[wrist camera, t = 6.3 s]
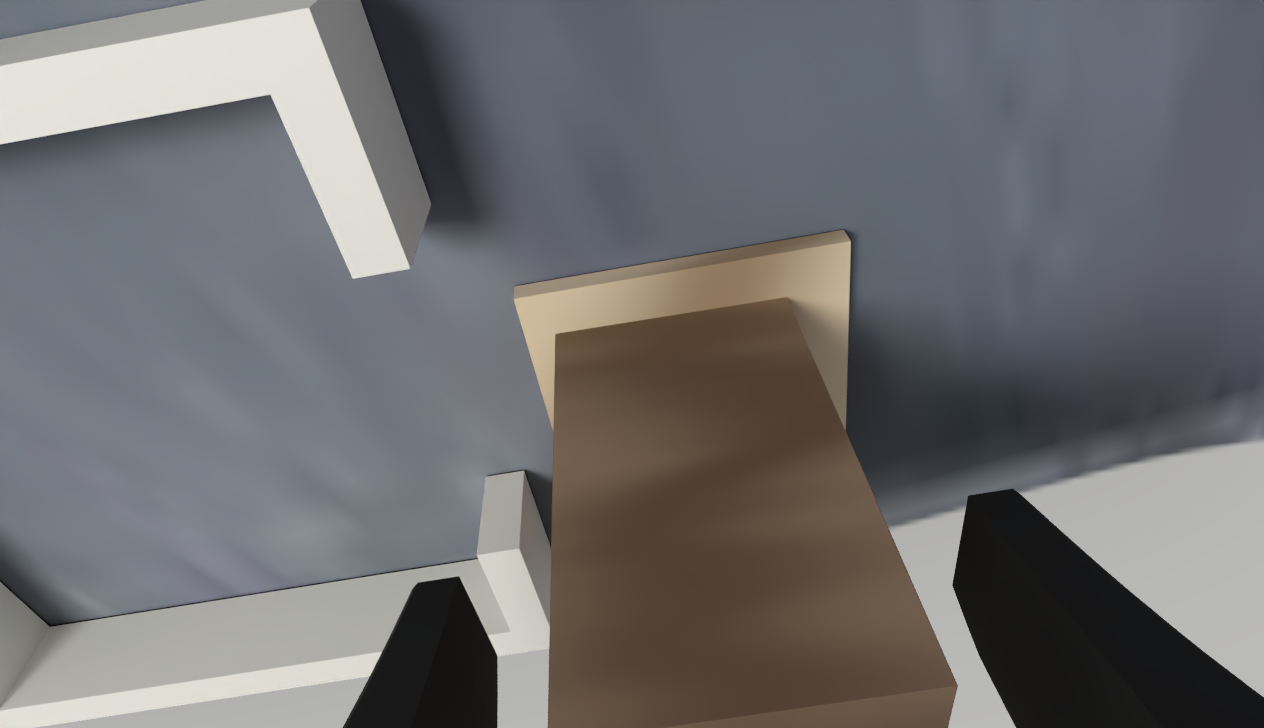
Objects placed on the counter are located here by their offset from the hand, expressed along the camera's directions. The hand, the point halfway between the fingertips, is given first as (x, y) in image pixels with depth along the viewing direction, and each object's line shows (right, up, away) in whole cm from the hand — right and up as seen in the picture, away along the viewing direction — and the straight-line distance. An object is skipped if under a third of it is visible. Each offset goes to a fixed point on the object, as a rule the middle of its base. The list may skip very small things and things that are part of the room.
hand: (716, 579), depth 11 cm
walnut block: (0, +2, +3) cm, 4 cm away
